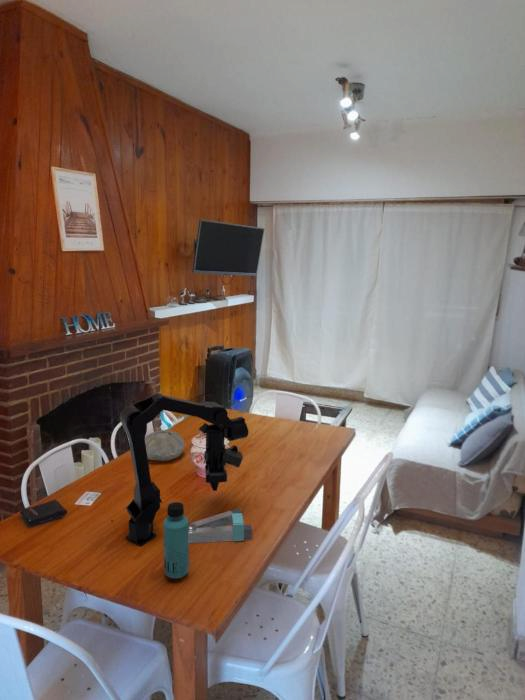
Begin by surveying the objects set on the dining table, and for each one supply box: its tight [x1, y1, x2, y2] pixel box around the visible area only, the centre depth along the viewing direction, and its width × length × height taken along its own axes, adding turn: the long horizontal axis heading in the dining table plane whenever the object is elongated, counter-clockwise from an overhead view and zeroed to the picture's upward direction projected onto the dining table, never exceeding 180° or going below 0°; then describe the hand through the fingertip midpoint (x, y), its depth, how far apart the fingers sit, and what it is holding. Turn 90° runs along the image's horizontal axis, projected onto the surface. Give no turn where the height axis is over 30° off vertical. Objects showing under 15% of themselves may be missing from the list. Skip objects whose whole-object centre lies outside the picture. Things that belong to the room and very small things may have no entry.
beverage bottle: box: [162, 501, 190, 579], centre depth 120 cm, size 6×7×20 cm
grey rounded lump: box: [145, 429, 186, 462], centre depth 192 cm, size 18×18×10 cm
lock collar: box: [231, 512, 245, 542], centre depth 139 cm, size 3×6×5 cm, turn 8°
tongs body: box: [188, 522, 253, 545], centre depth 138 cm, size 20×4×4 cm, turn 98°
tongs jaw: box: [192, 507, 243, 528], centre depth 144 cm, size 18×2×3 cm, turn 123°
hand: (214, 490), depth 149 cm, fingers closed
